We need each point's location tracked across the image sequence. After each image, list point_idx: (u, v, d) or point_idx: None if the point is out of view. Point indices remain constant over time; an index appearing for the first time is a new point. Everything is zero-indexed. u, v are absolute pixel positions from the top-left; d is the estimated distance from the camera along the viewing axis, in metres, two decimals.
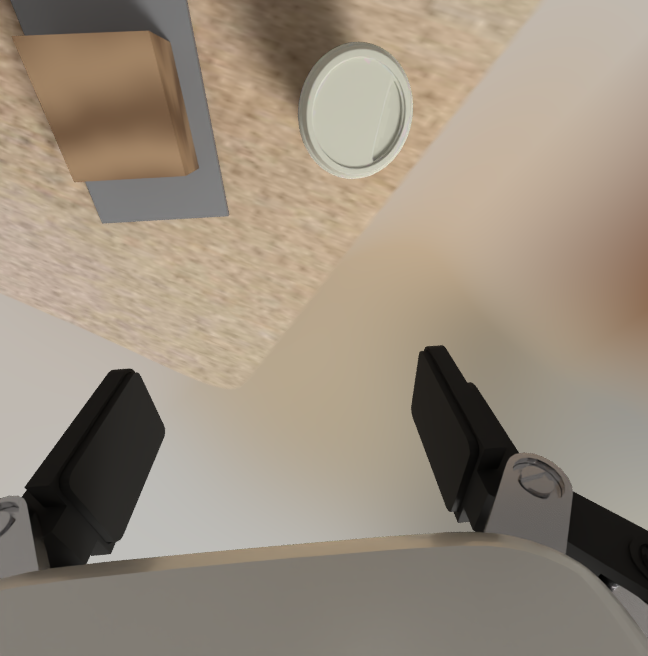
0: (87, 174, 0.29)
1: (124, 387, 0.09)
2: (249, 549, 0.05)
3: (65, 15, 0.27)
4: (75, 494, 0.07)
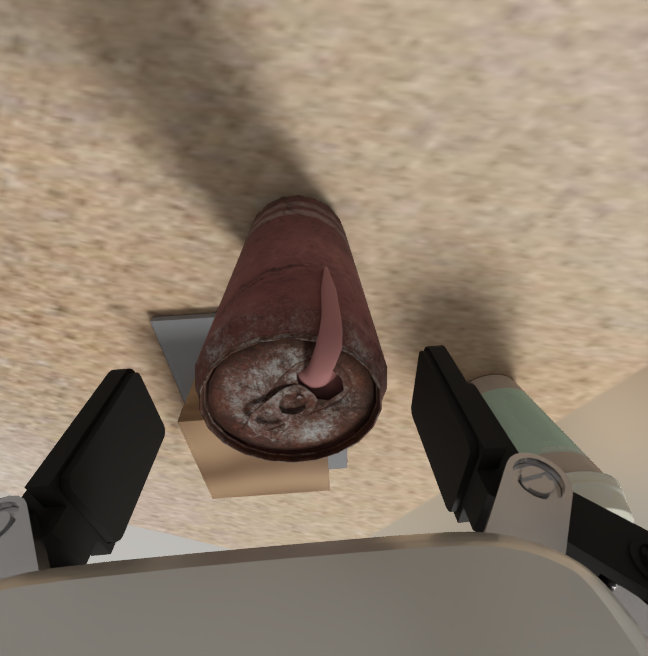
0: (228, 493, 0.27)
1: (124, 387, 0.09)
2: (249, 549, 0.05)
3: None
4: (75, 494, 0.07)
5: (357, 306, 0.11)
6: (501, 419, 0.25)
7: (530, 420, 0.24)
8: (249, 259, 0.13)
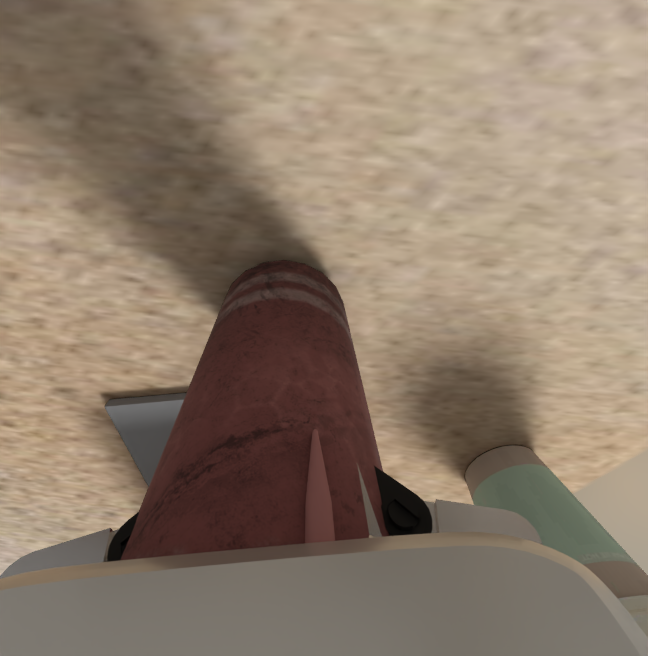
0: None
1: None
2: (249, 549, 0.05)
3: None
4: None
5: None
6: (526, 509, 0.21)
7: (561, 512, 0.20)
8: (203, 394, 0.08)
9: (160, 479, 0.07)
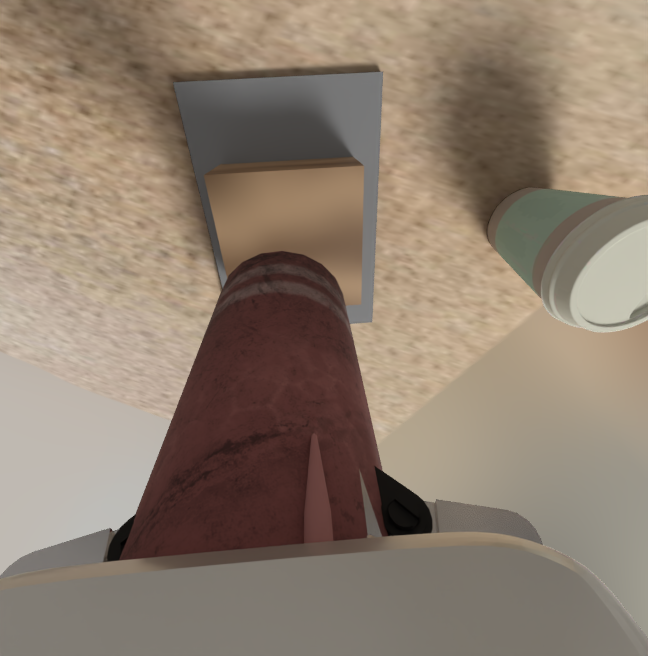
0: None
1: None
2: (249, 549, 0.05)
3: (240, 132, 0.23)
4: None
5: None
6: (547, 200, 0.23)
7: (580, 193, 0.22)
8: (199, 395, 0.08)
9: (156, 484, 0.07)
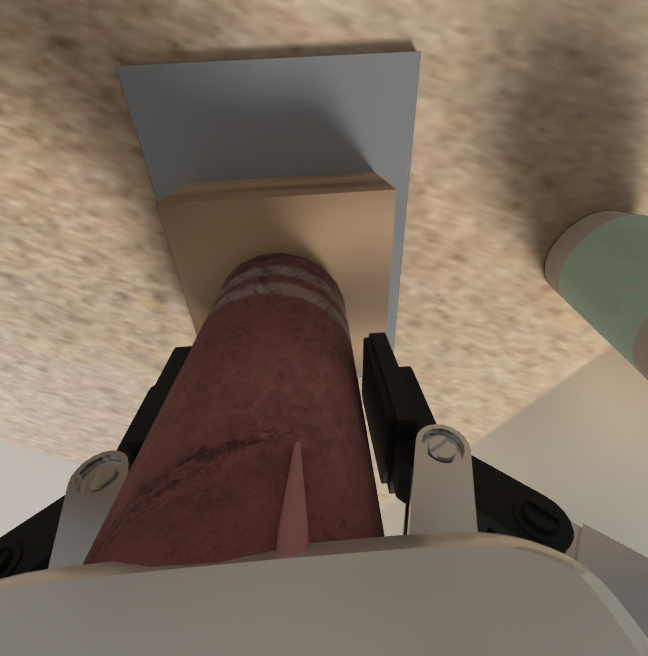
0: None
1: None
2: None
3: (216, 138, 0.17)
4: None
5: (351, 535, 0.06)
6: None
7: None
8: (180, 397, 0.08)
9: (124, 492, 0.06)
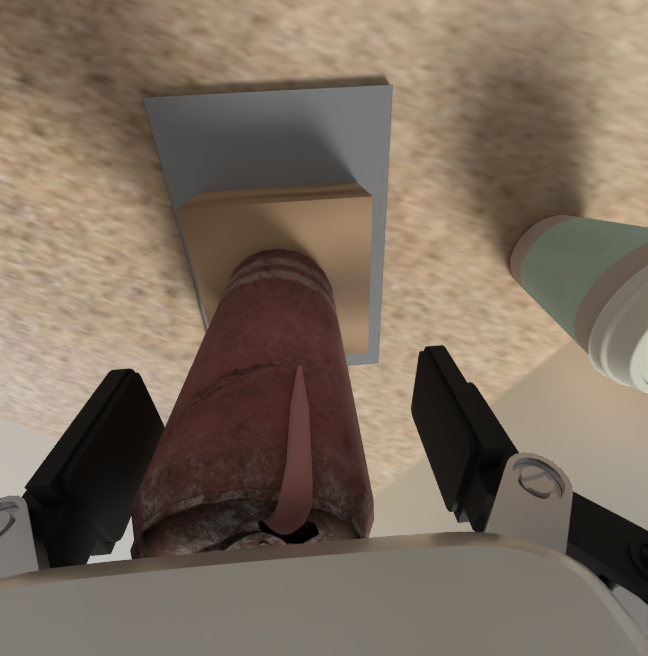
0: None
1: (124, 387, 0.09)
2: (249, 549, 0.05)
3: (224, 155, 0.20)
4: (75, 494, 0.07)
5: (336, 419, 0.09)
6: (588, 233, 0.20)
7: (628, 225, 0.19)
8: (212, 346, 0.11)
9: (181, 402, 0.09)
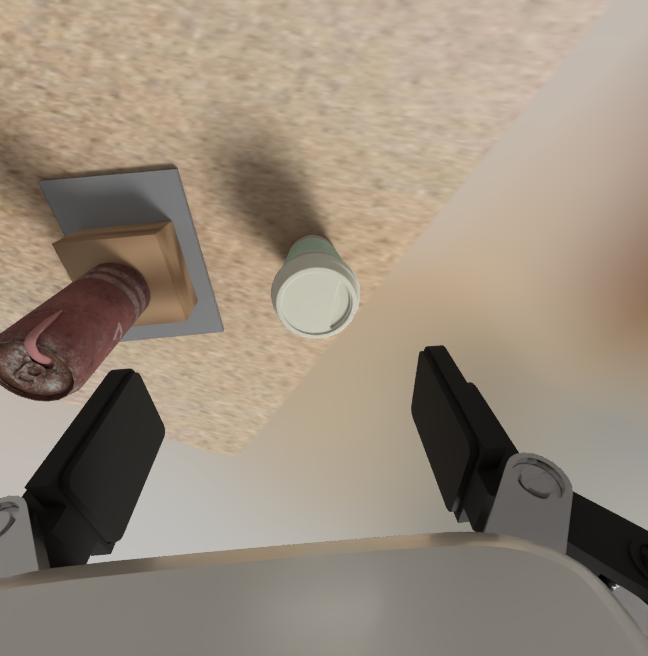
0: None
1: (124, 387, 0.09)
2: (249, 549, 0.05)
3: (89, 209, 0.35)
4: (75, 494, 0.07)
5: (69, 327, 0.24)
6: (295, 249, 0.34)
7: (310, 245, 0.33)
8: (39, 306, 0.26)
9: None
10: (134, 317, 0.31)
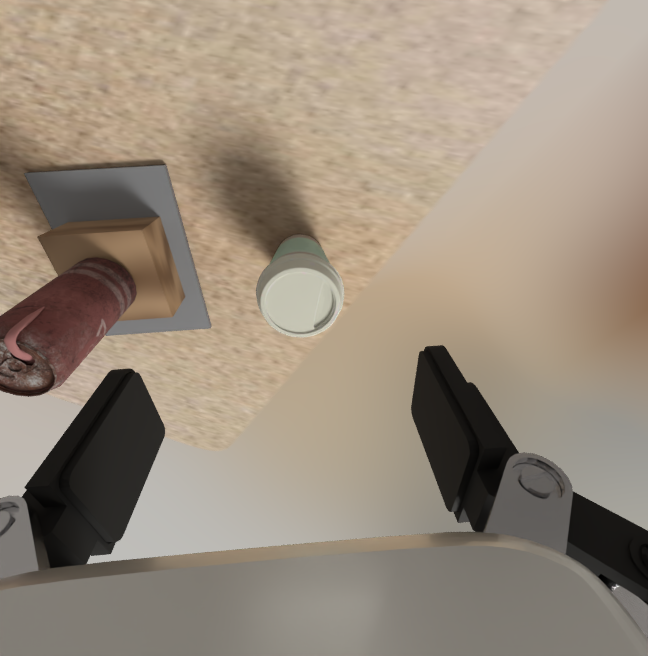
0: None
1: (124, 387, 0.09)
2: (249, 549, 0.05)
3: (76, 202, 0.35)
4: (75, 494, 0.07)
5: (50, 325, 0.24)
6: (281, 248, 0.35)
7: (297, 244, 0.34)
8: (21, 301, 0.26)
9: None
10: (119, 313, 0.32)
